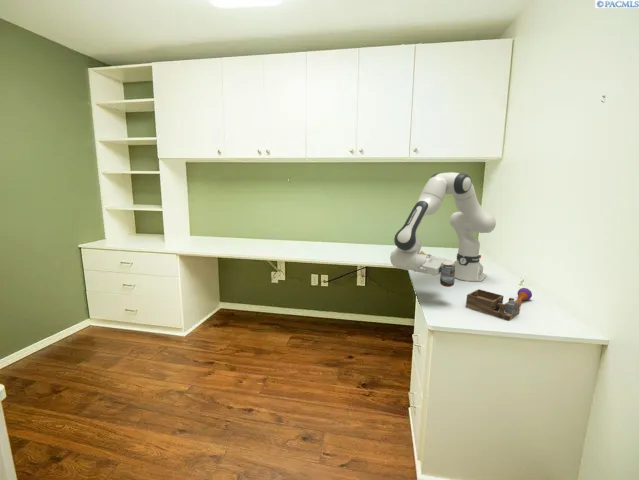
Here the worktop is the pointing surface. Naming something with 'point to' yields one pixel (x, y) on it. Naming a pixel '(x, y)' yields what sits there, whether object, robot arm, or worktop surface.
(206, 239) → the worktop surface
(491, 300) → the tray
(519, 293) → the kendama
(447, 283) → the beverage can
